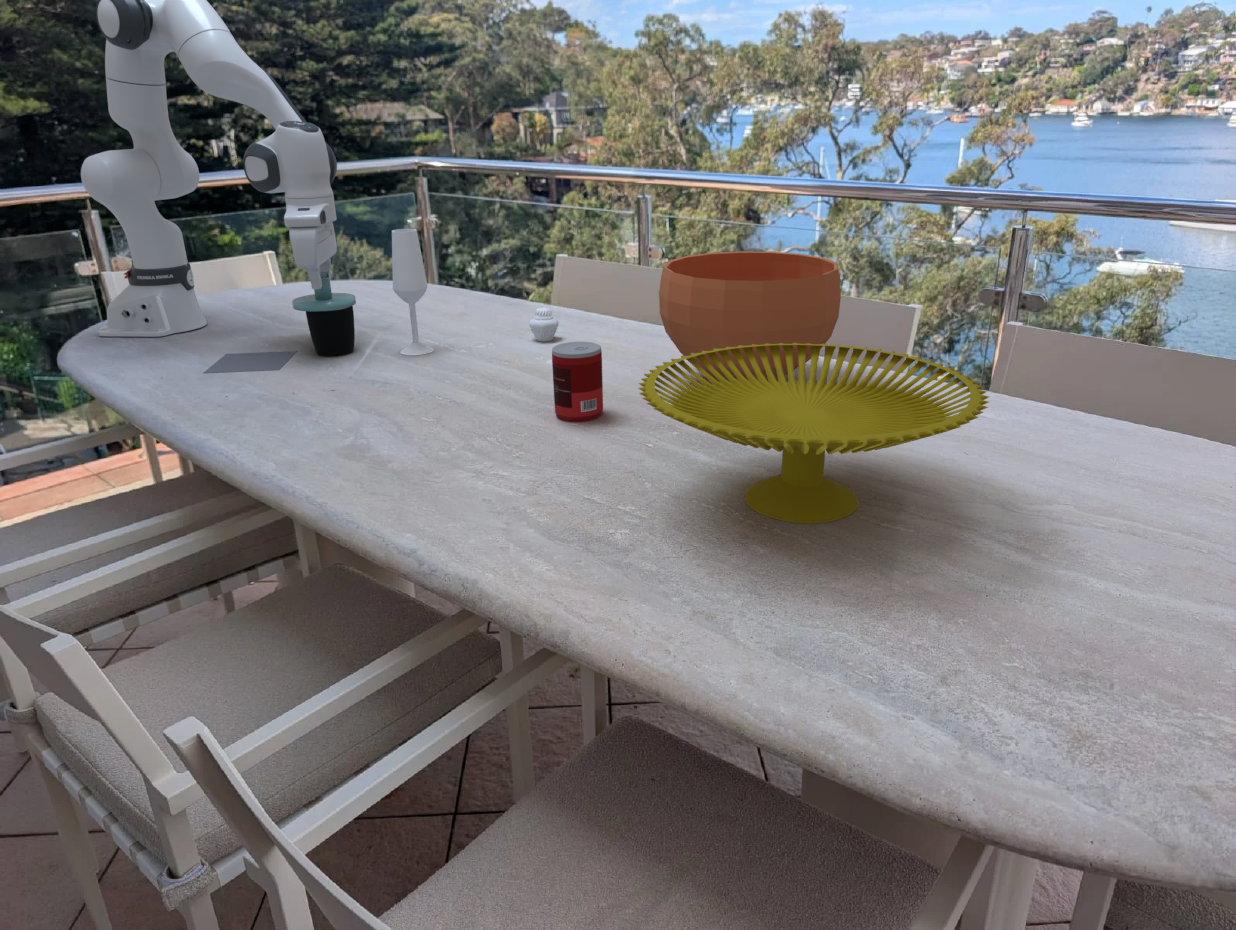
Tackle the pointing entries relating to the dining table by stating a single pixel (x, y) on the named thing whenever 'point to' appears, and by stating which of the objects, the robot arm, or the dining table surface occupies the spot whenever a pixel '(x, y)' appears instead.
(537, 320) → the white ridged rounded piece
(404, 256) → the champagne flute
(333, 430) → the dining table surface
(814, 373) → the cake stand
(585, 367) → the canned food
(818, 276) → the bowl
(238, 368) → the mat
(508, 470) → the dining table surface
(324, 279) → the lid
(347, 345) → the mug
